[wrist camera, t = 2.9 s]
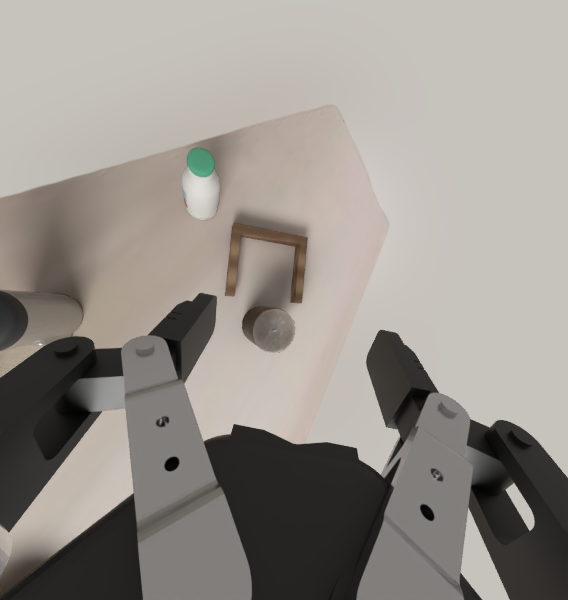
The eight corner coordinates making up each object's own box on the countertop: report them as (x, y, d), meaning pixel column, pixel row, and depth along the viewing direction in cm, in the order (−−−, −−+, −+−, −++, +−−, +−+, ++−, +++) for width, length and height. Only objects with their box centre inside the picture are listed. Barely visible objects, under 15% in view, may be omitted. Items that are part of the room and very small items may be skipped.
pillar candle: (235, 318, 63) (245, 323, 49) (267, 300, 66) (285, 300, 51) (253, 349, 64) (267, 363, 50) (283, 331, 67) (305, 339, 53)
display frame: (297, 303, 68) (301, 303, 65) (225, 295, 62) (226, 294, 59) (302, 240, 69) (307, 237, 66) (232, 227, 63) (233, 222, 60)
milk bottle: (223, 204, 62) (232, 160, 43) (205, 226, 61) (206, 191, 42) (197, 183, 60) (195, 128, 42) (178, 206, 59) (166, 159, 40)
